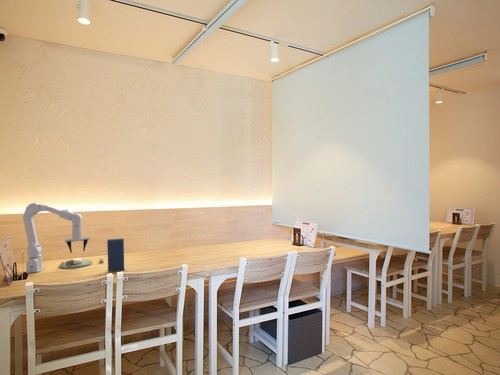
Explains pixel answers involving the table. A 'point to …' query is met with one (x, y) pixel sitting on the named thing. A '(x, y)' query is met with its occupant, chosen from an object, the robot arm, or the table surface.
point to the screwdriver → (101, 260)
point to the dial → (74, 261)
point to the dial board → (72, 266)
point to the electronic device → (115, 254)
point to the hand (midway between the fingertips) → (77, 251)
